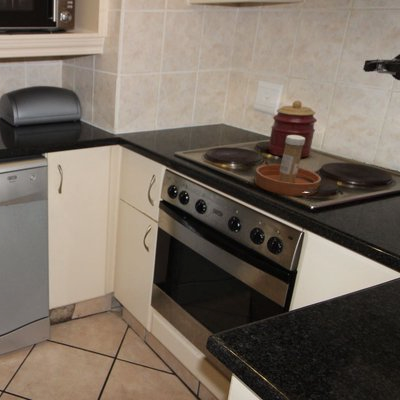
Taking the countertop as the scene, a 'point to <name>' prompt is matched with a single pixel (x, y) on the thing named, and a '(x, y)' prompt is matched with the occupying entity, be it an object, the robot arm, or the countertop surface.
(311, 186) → the terracotta round dish
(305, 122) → the kitchen canister
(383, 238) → the countertop surface
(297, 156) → the sprinkles bottle
